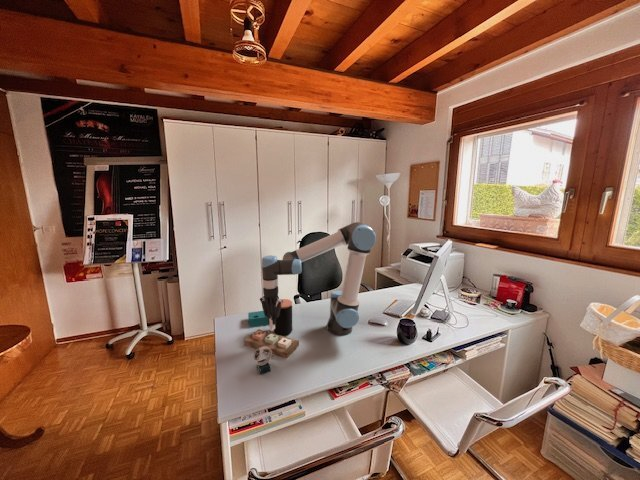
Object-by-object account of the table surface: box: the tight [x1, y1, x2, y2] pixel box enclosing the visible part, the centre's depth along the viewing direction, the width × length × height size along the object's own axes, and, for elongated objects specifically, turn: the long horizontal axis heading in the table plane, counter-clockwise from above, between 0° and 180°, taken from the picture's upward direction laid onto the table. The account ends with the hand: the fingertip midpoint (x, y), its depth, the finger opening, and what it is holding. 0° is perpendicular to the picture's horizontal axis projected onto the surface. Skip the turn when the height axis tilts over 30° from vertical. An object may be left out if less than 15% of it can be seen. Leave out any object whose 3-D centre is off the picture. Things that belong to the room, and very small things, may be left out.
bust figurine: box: [253, 346, 273, 375], centre depth 118 cm, size 6×8×11 cm
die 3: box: [278, 337, 291, 349], centre depth 134 cm, size 5×5×4 cm
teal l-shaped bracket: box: [247, 310, 270, 328], centre depth 162 cm, size 18×11×10 cm, turn 108°
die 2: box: [265, 334, 278, 345], centre depth 137 cm, size 5×5×4 cm
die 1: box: [251, 329, 266, 341], centre depth 140 cm, size 5×5×4 cm
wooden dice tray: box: [243, 329, 300, 360], centre depth 137 cm, size 26×12×3 cm, turn 65°
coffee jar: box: [273, 298, 293, 337], centre depth 149 cm, size 11×11×18 cm
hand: (272, 329), depth 136 cm, fingers closed
